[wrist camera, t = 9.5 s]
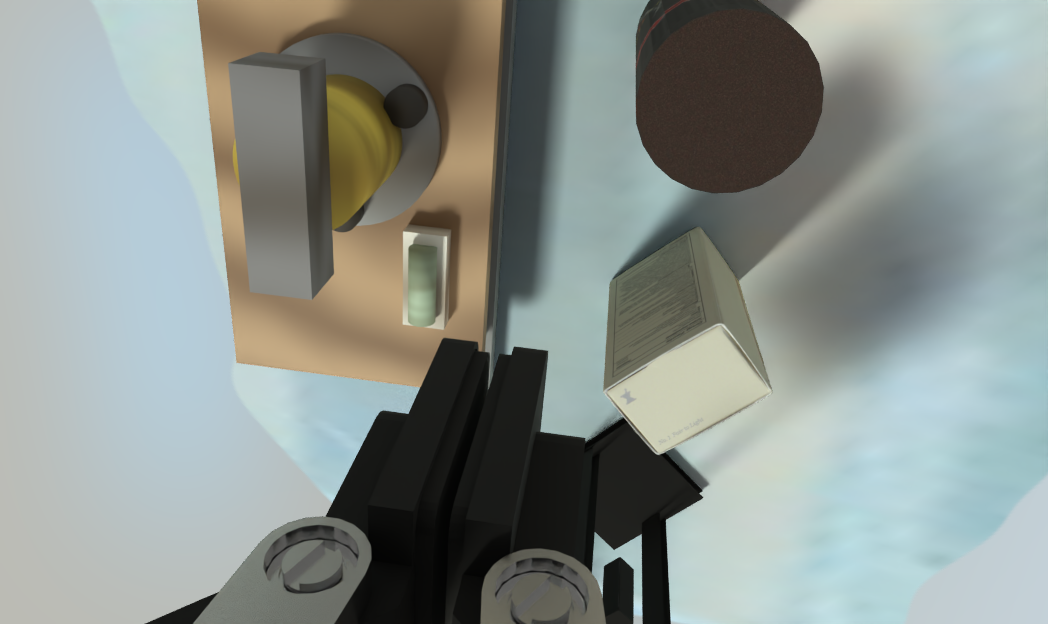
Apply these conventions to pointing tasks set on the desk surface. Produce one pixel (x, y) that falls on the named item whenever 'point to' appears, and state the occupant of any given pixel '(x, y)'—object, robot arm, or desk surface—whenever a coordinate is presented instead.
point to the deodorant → (723, 92)
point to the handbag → (630, 517)
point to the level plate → (378, 248)
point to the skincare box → (681, 344)
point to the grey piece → (500, 177)
